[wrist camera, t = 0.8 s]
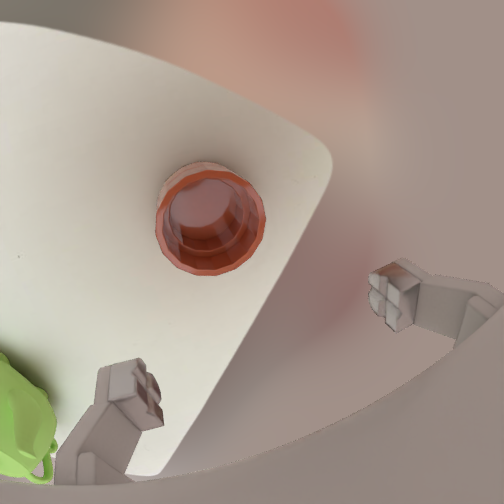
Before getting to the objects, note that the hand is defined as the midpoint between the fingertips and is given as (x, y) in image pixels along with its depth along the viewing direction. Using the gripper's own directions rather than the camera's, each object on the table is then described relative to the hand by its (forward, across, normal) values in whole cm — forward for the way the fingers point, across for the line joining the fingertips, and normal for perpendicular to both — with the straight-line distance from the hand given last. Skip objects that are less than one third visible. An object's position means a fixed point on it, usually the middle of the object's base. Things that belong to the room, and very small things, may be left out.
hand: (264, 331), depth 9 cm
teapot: (+14, +28, +11) cm, 33 cm away
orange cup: (+14, 0, 0) cm, 14 cm away
